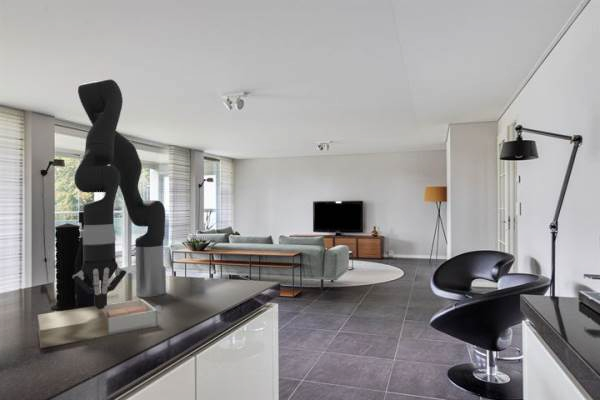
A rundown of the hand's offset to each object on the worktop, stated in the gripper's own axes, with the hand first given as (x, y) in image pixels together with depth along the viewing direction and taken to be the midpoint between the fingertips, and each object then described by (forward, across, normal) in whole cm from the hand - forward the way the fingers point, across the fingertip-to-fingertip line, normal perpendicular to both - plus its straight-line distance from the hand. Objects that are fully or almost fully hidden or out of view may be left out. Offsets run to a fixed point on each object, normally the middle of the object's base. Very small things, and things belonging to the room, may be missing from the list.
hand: (100, 308), depth 104 cm
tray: (+5, -6, 0) cm, 8 cm away
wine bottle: (+5, 0, -21) cm, 22 cm away
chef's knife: (+6, -16, -7) cm, 18 cm away
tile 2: (+1, -9, 0) cm, 9 cm away
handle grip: (+5, +4, -31) cm, 32 cm away
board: (+5, +6, 0) cm, 8 cm away
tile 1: (+4, -4, 0) cm, 6 cm away
